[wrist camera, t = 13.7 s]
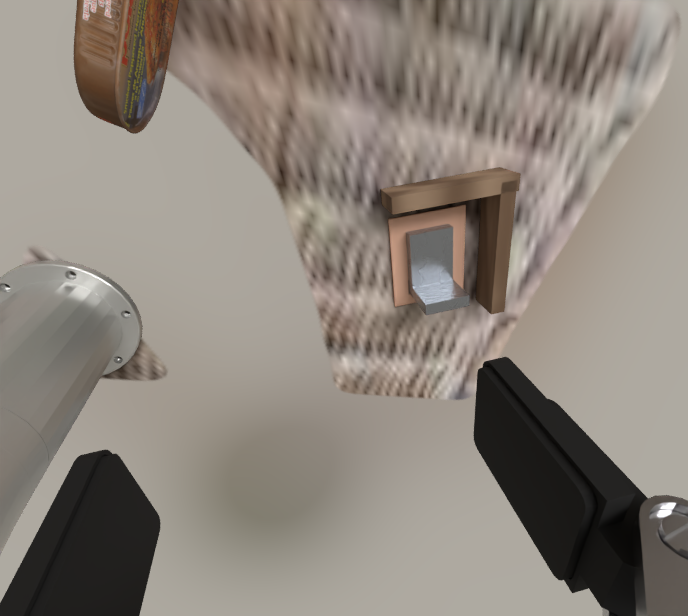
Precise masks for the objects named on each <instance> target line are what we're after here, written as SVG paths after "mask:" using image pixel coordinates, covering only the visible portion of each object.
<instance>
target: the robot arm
mask: <svg viewBox="0 0 688 616" xmlns="http://www.w3.org/2000/svg"><path fill="white" fill-rule="evenodd" d="M73 272H74V273H73ZM128 311H129V312H128ZM141 337H142V322H141V316H140V314H139V311H138V309H137V307H136V305H135V303H134V302H133V300H132V299H131V297H130V296H129V295H128V294H127V293H126V292H125V291H124V290H123V289H122V288H121V287H120V286H119V285H118V284H117V283H115V282H114V281H112V280H111V279H110V278H109V277H107V276H105V275H103V274H101V273H100V272H98V271H96V270H94V269H90V268H88V267H85V266H83V265H80V264H75V263H70V262H66V261H54V260H46V261H35V262H31V263H27V264H24V265H20V266H18V267H16V268H14V269H12V270H10V271H9V272H7V273H6V274H4V275H3V276H2V277H0V554H1V552H2V550H3V548H4V546H5V544H6V542H7V540H8V538H9V536H10V534H11V532H12V530H13V528H14V526H15V525H16V523H17V521H18V519H19V517H20V516H21V514H22V512H23V510H24V508H25V506H26V505H27V503H28V501H29V499H30V498H31V496H32V494H33V492H34V491H35V488H36V487H37V486H38V484H39V482H40V480H41V479H42V477H43V475H44V473H45V472H46V470H47V468H48V466H49V465H50V463H51V461H52V459H53V458H54V456H55V454H56V453H57V451H58V449H59V447H60V446H61V444H62V442H63V441H64V439H65V437H66V435H67V434H68V432H69V430H70V429H71V427H72V425H73V424H74V422H75V420H76V418H77V417H78V415H79V413H80V411H81V410H82V408H83V406H84V405H85V403H86V401H87V399H88V398H89V396H90V394H91V393H92V391H93V389H94V388H95V386H96V384H97V382H98V381H99V379H100V377H101V376H102V375H106V374H109V373H111V372H113V371H115V370H117V369H119V368H120V367H122V366H123V365H124V364H126V363H127V362H128V361H129V360H130V358H131V357H132V356H133V355H134V353H135V351H136V350H137V348H138V346H139V343H140V340H141ZM474 441H475V445H476V447H477V449H478V451H479V453H480V454H481V456H482V458H483V459H484V461H485V462H486V464H487V466H488V467H489V469H490V471H491V472H492V474H493V476H494V477H495V479H496V481H497V482H498V484H499V486H500V487H501V489H502V491H503V492H504V494H505V496H506V497H507V499H508V501H509V502H510V504H511V506H512V507H513V509H514V511H515V512H516V514H517V515H518V517H519V519H520V520H521V522H522V524H523V525H524V527H525V529H526V530H527V532H528V534H529V535H530V537H531V539H532V540H533V542H534V544H535V545H536V547H537V548H538V550H539V552H540V553H541V555H542V557H543V559H544V560H545V561H546V563H547V565H548V566H549V568H550V570H551V572H552V573H553V575H554V576H555V577H556V578H557V579H558V580H564V581H565V582H566V584H567V585H568V587H569V589H570V590H571V592H572V593H575V592H578V591H581V590H584V589H588V588H589V589H590V591H591V592H592V593H593V595H594V597H595V598H596V599H597V601H598V602H599V604H600V606H601V607H602V608H603V616H688V501H687V500H685V499H683V498H678V497H674V496H669V495H662V496H653V497H651V498H647V497H646V496H645V495H644V494H643V493H642V492H641V491H640V490H639V489H638V488H637V487H636V486H635V485H634V484H633V483H632V481H631V480H630V479H629V478H627V476H626V475H625V474H624V473H623V472H622V471H621V470H620V469H619V468H618V467H617V466H616V465H615V464H614V462H613V461H612V460H611V459H610V458H609V457H608V456H607V455H606V454H605V453H604V452H603V451H602V450H601V449H600V448H599V447H598V446H597V445H596V444H595V443H594V442H593V440H592V439H591V438H590V437H589V436H588V435H587V434H586V433H585V432H584V431H583V430H582V429H581V428H580V427H579V426H578V425H577V424H576V423H575V422H574V421H573V420H572V419H571V417H570V416H568V414H567V413H566V412H565V411H564V410H563V409H562V408H561V407H560V406H559V405H558V404H557V403H555V402H554V401H552V400H550V399H547V398H546V397H545V396H544V395H543V394H542V393H541V392H540V391H539V390H538V389H537V388H536V386H534V384H533V383H532V382H531V381H530V380H529V379H528V378H527V377H526V376H525V375H524V374H523V373H522V371H521V370H520V369H519V368H518V367H517V366H516V365H515V364H514V363H513V362H512V361H511V360H510V359H509V358H507V357H503V358H498V359H494V360H490V361H486V362H484V364H483V368H480V369H479V370H478V375H477V391H476V406H475V423H474ZM159 532H160V519H159V515H158V514H157V512H156V511H155V509H154V507H153V506H152V504H151V503H150V501H149V500H148V499H147V497H146V496H145V494H144V493H143V491H142V490H141V488H140V487H139V485H138V484H137V482H136V481H135V479H134V478H133V476H132V475H131V473H130V472H129V470H128V469H127V467H126V466H125V464H124V463H123V461H122V460H121V458H120V457H119V456H118V455H117V454H112V453H111V452H110V451H108V450H102V451H97V452H93V453H89V454H84V455H80V456H79V457H78V458H77V459H76V460H75V461H74V463H73V465H72V467H71V469H70V471H69V473H68V475H67V477H66V479H65V480H64V482H63V484H62V486H61V488H60V490H59V492H58V494H57V496H56V498H55V499H54V501H53V503H52V505H51V507H50V509H49V511H48V513H47V515H46V517H45V519H44V521H43V523H42V524H41V526H40V528H39V530H38V532H37V534H36V536H35V538H34V540H33V542H32V544H31V546H30V547H29V549H28V551H27V553H26V555H25V557H24V559H23V561H22V563H21V565H20V567H19V568H18V570H17V572H16V574H15V576H14V578H13V580H12V582H11V584H10V586H9V588H8V590H7V592H6V593H5V595H4V597H3V599H2V601H1V603H0V616H139V614H140V610H141V606H142V602H143V598H144V593H145V590H146V585H147V581H148V577H149V573H150V569H151V565H152V560H153V556H154V552H155V548H156V544H157V540H158V536H159Z"/></svg>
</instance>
